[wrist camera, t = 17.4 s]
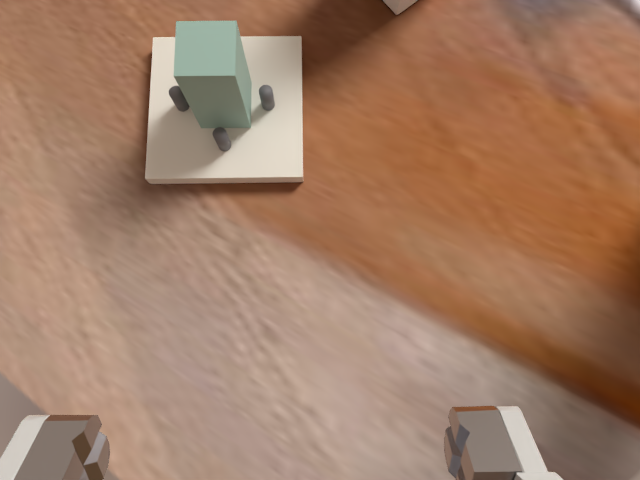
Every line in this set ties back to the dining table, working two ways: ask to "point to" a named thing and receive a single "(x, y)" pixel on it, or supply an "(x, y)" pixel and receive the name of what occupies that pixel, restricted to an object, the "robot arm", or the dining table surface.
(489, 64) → the dining table surface
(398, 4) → the milk carton
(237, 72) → the block
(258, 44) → the peg board
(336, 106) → the dining table surface
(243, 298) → the dining table surface
